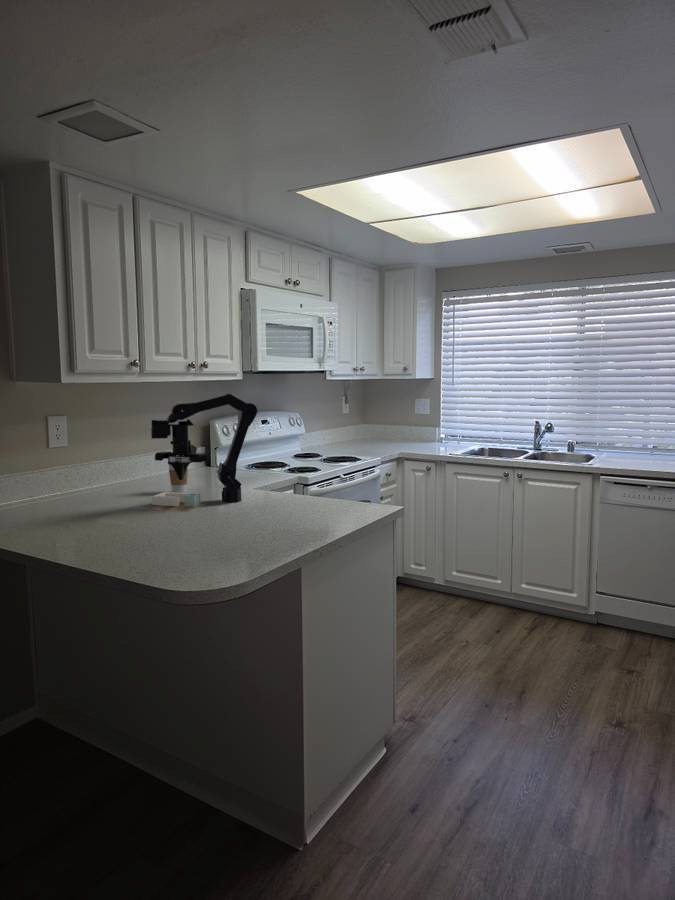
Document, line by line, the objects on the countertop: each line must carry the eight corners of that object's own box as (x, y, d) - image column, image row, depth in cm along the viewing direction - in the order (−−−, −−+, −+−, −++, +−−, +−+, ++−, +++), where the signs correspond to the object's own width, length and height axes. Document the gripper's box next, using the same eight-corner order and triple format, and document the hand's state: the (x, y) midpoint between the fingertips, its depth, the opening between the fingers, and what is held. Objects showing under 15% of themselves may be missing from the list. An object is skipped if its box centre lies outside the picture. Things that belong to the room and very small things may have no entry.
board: (207, 506, 232) (207, 503, 232) (187, 514, 219) (187, 511, 219) (165, 503, 238) (165, 500, 238) (143, 511, 224) (143, 508, 224)
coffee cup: (186, 494, 255) (185, 458, 253) (166, 494, 255) (164, 458, 253) (191, 490, 263) (190, 455, 261) (172, 490, 263) (170, 455, 262)
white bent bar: (190, 501, 234) (190, 493, 233) (178, 506, 226) (177, 497, 226) (165, 500, 237) (164, 492, 237) (152, 504, 229) (151, 496, 229)
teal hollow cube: (200, 504, 230) (200, 493, 230) (194, 506, 226) (194, 496, 226) (190, 503, 231) (190, 493, 231) (184, 506, 227) (184, 495, 227)
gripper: (213, 436, 232) (214, 478, 234) (169, 435, 237) (170, 475, 239) (198, 439, 221) (199, 482, 223) (153, 437, 227) (154, 480, 228)
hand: (181, 480), depth 229 cm, fingers closed
